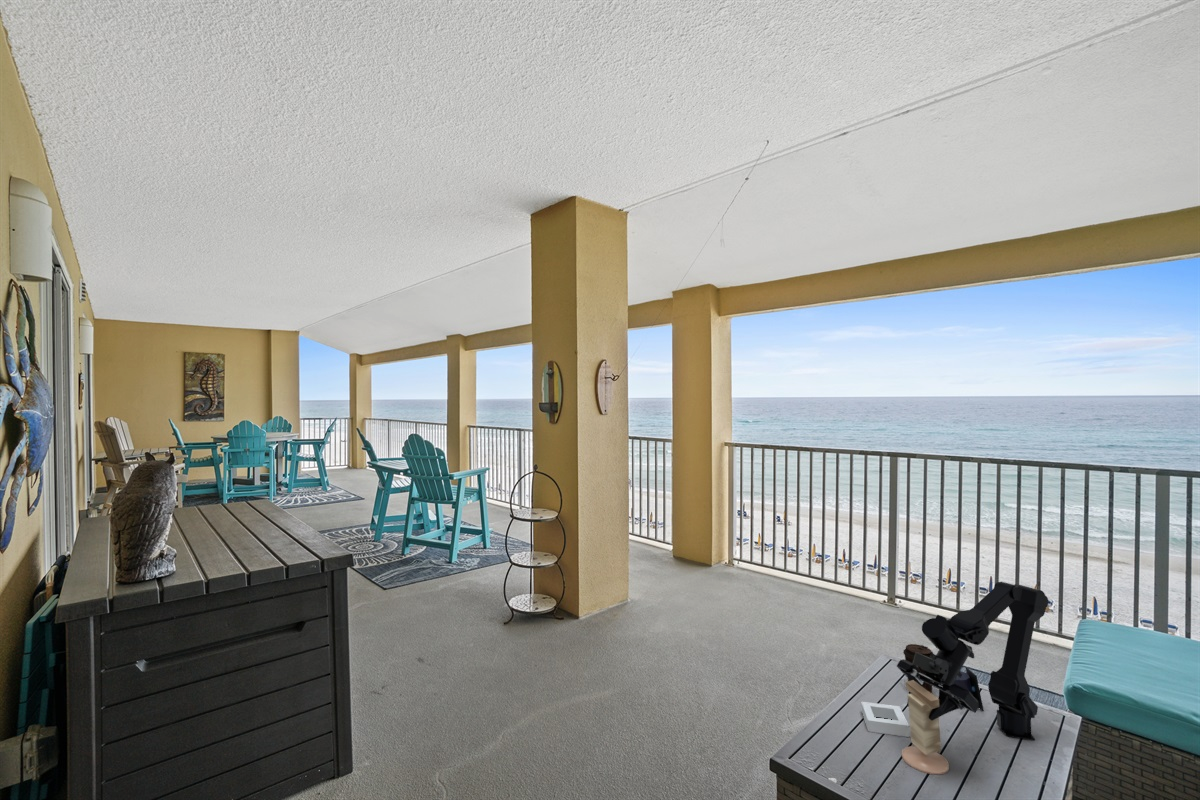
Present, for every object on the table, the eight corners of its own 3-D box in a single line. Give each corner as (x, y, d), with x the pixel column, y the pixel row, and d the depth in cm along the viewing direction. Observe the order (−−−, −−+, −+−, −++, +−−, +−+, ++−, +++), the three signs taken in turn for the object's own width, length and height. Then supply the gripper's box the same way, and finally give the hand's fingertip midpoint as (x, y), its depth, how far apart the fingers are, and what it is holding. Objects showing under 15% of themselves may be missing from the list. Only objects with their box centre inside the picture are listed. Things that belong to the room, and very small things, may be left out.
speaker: (981, 701, 158) (975, 666, 159) (984, 712, 153) (978, 676, 154) (951, 698, 162) (945, 664, 162) (953, 708, 157) (947, 673, 157)
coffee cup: (933, 686, 168) (931, 644, 169) (940, 699, 160) (938, 656, 161) (902, 682, 171) (900, 641, 172) (907, 695, 163) (906, 652, 164)
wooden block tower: (921, 733, 137) (917, 678, 136) (947, 755, 129) (942, 697, 128) (906, 737, 136) (901, 683, 135) (931, 760, 128) (927, 702, 127)
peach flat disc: (941, 752, 135) (941, 749, 135) (955, 777, 126) (955, 775, 126) (897, 745, 138) (897, 743, 138) (907, 770, 129) (907, 767, 129)
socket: (899, 717, 151) (899, 706, 151) (909, 737, 142) (909, 725, 142) (861, 712, 154) (861, 701, 154) (868, 731, 145) (868, 720, 145)
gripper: (900, 628, 143) (870, 677, 139) (968, 657, 126) (936, 713, 122) (922, 652, 145) (894, 701, 141) (992, 684, 128) (962, 741, 124)
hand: (919, 713), depth 132 cm, fingers closed on wooden block tower, 6 cm apart
